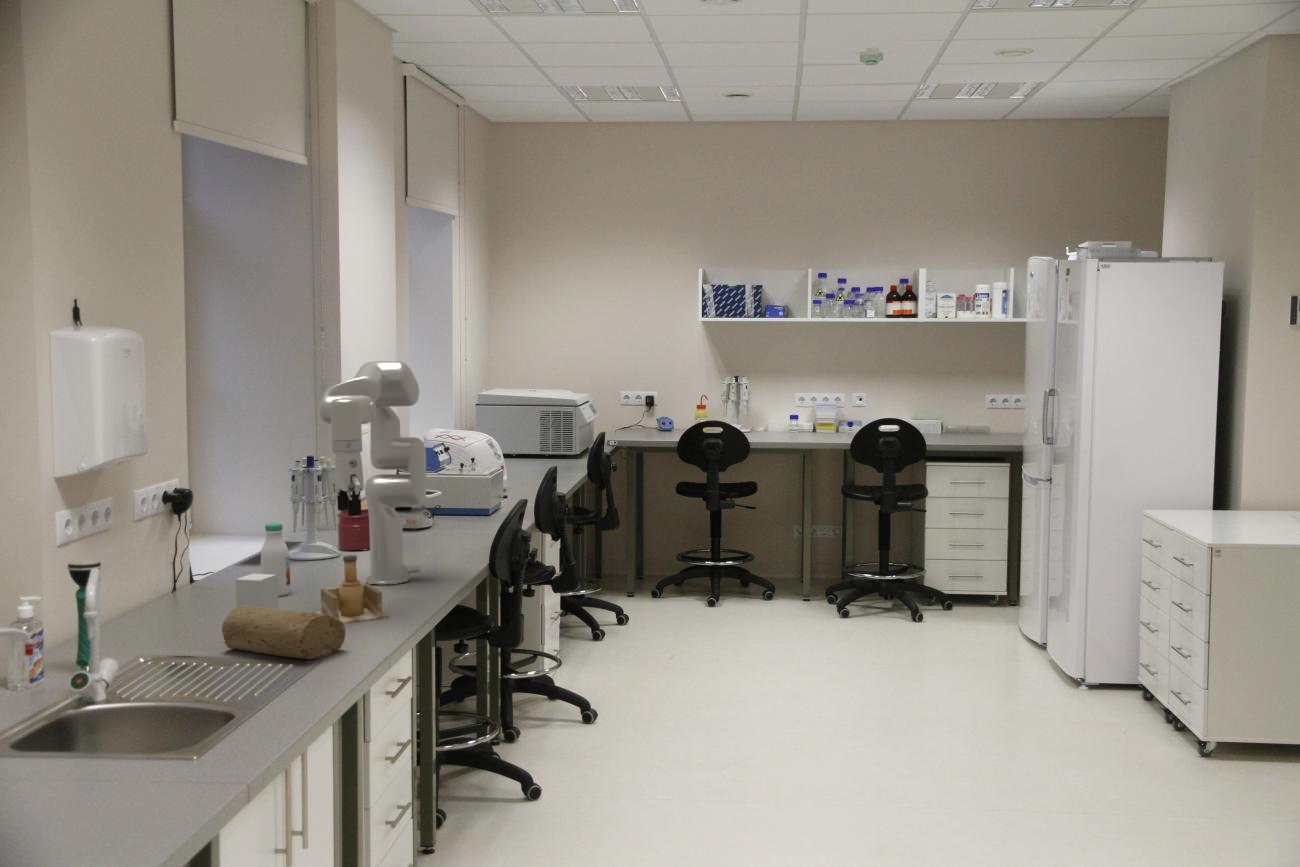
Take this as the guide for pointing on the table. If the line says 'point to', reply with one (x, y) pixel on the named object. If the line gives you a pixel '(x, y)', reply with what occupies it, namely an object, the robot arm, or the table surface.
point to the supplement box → (257, 590)
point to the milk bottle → (276, 557)
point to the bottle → (351, 590)
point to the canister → (354, 530)
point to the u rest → (371, 604)
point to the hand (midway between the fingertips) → (349, 512)
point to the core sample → (282, 632)
